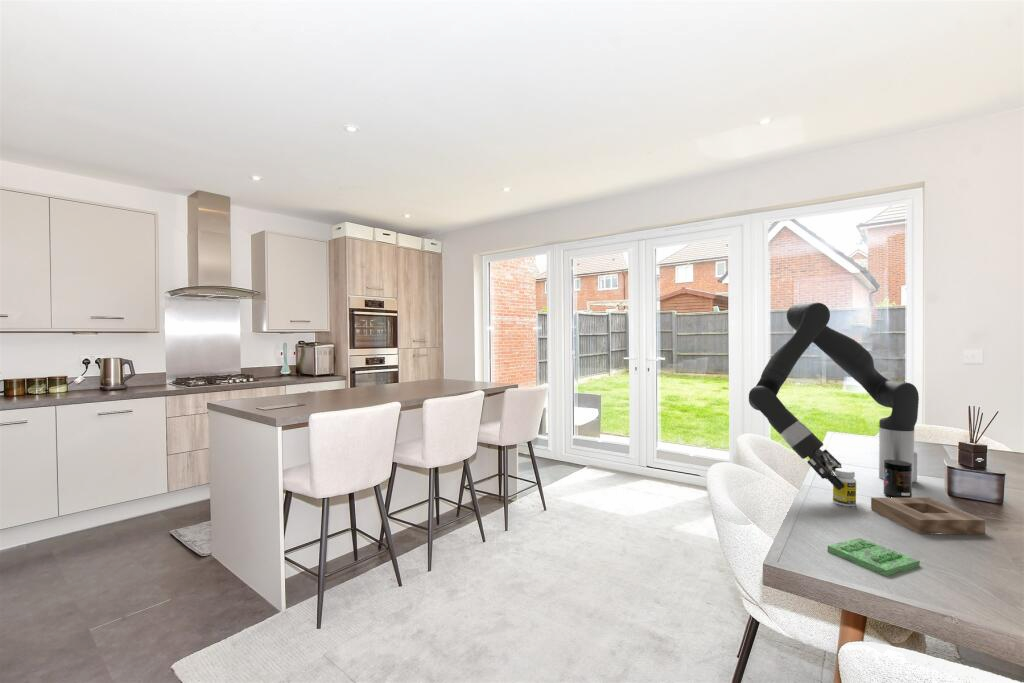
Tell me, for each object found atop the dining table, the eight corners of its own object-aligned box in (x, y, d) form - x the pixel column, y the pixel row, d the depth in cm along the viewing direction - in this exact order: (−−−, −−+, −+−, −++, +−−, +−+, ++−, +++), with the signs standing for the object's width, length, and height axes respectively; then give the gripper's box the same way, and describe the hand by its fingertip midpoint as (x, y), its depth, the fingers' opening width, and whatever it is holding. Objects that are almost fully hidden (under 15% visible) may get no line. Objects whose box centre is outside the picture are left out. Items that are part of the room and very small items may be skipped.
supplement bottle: (849, 508, 134) (849, 473, 133) (828, 502, 138) (829, 469, 138) (860, 504, 136) (860, 471, 136) (839, 499, 141) (839, 466, 141)
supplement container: (897, 492, 147) (897, 459, 146) (918, 500, 140) (918, 465, 140) (877, 493, 146) (877, 459, 146) (897, 501, 139) (897, 465, 139)
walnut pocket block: (928, 510, 132) (929, 497, 132) (985, 534, 116) (985, 520, 116) (871, 509, 132) (871, 497, 132) (919, 534, 116) (919, 519, 116)
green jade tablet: (885, 579, 96) (886, 567, 96) (827, 554, 107) (827, 543, 107) (919, 569, 100) (919, 558, 100) (859, 546, 111) (860, 535, 111)
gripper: (804, 435, 138) (851, 483, 130) (817, 428, 148) (861, 472, 140) (784, 450, 142) (828, 497, 134) (798, 442, 152) (840, 486, 144)
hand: (845, 484), depth 137 cm, fingers open, 8 cm apart
